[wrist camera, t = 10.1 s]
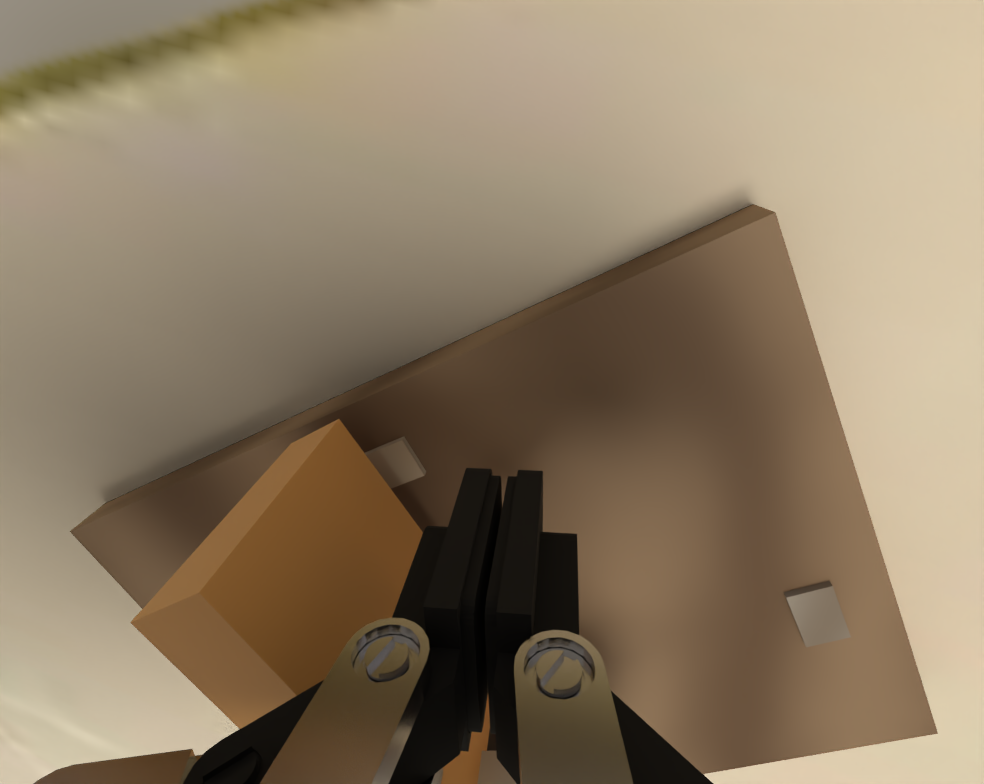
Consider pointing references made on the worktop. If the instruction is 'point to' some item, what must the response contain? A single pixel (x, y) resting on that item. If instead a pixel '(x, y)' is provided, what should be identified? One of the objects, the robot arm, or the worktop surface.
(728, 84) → the worktop surface
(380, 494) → the cap
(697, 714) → the post base
